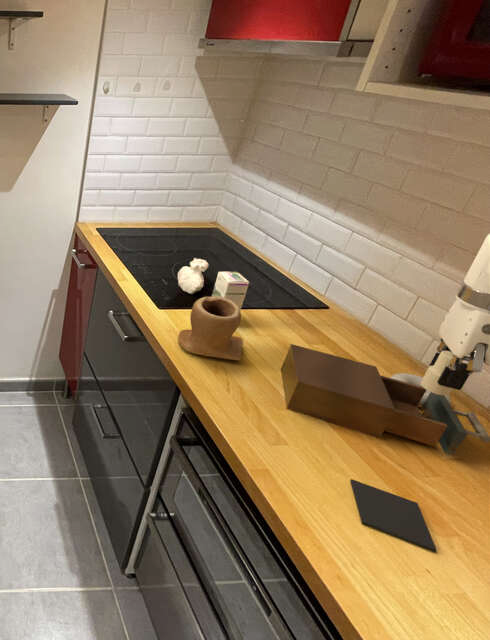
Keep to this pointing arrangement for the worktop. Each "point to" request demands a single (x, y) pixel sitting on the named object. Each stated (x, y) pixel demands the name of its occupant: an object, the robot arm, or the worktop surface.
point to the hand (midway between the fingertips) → (444, 378)
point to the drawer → (428, 417)
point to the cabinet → (336, 390)
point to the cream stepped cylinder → (437, 374)
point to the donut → (416, 381)
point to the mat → (392, 515)
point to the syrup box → (231, 287)
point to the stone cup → (213, 329)
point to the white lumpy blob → (192, 276)
